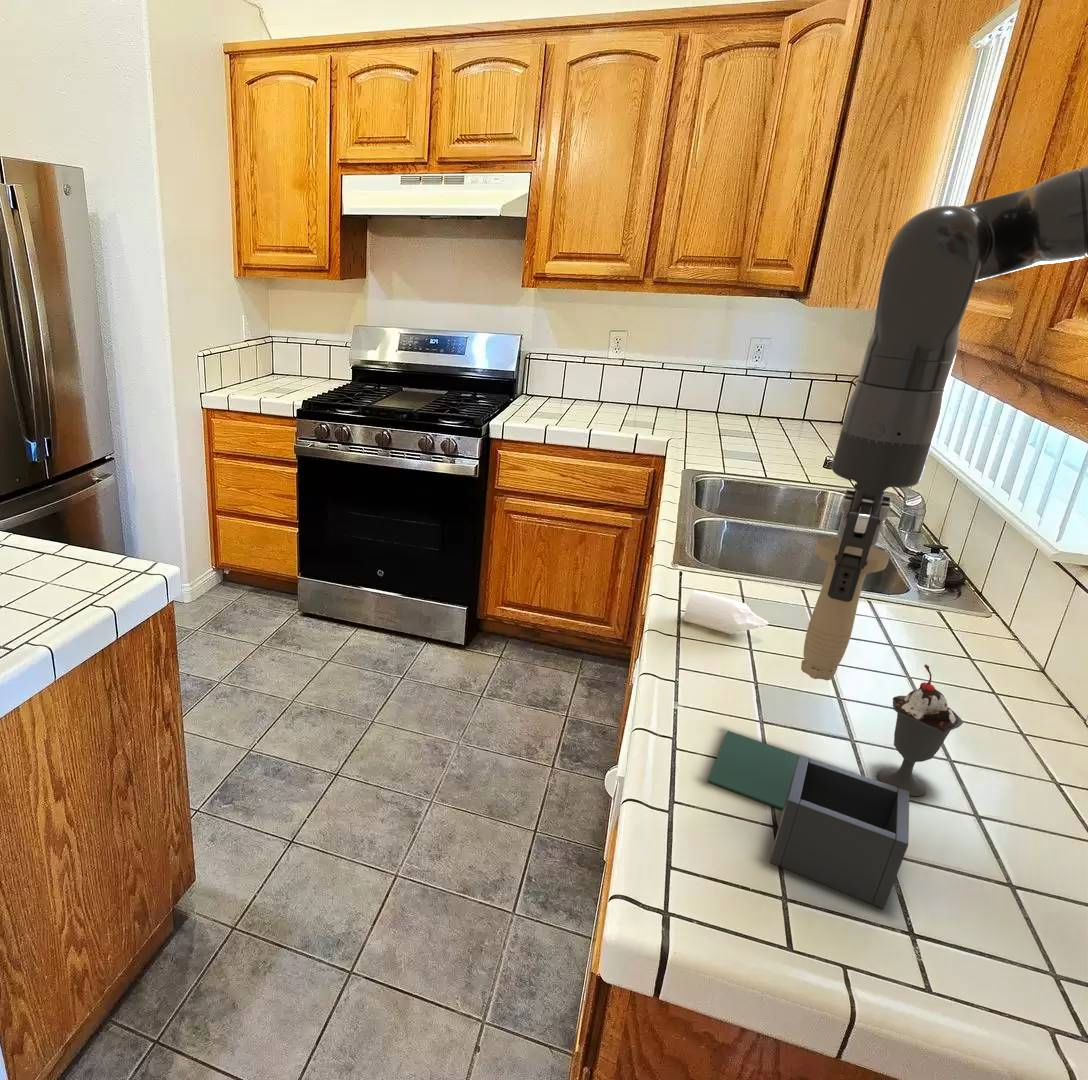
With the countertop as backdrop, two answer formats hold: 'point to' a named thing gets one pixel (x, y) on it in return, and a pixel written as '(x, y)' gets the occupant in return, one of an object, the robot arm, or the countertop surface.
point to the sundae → (918, 734)
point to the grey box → (843, 830)
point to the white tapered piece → (720, 613)
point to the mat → (754, 769)
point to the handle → (834, 613)
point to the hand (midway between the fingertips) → (841, 588)
